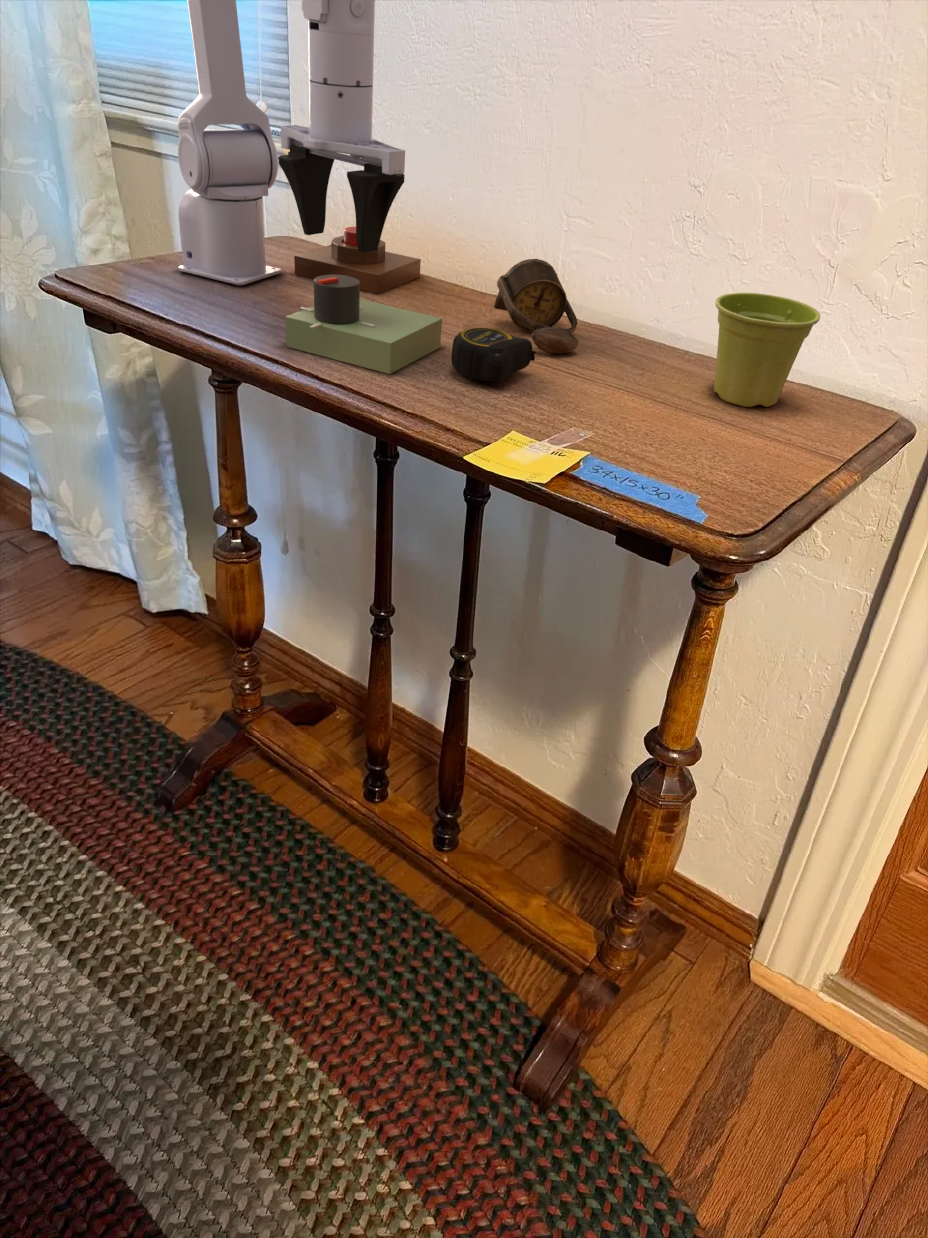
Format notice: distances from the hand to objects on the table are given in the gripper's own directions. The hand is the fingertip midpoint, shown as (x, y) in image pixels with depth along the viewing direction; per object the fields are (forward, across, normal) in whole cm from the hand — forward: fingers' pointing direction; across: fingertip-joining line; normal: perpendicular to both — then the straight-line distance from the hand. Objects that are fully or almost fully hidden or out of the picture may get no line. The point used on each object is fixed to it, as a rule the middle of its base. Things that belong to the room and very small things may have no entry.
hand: (340, 241), depth 91 cm
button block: (+9, -15, +18) cm, 25 cm away
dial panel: (+9, +4, -1) cm, 10 cm away
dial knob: (+6, +3, -3) cm, 7 cm away
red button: (+6, -15, +18) cm, 24 cm away
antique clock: (+9, +13, +16) cm, 23 cm away
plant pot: (+9, +37, +18) cm, 42 cm away
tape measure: (+9, +18, +3) cm, 20 cm away
